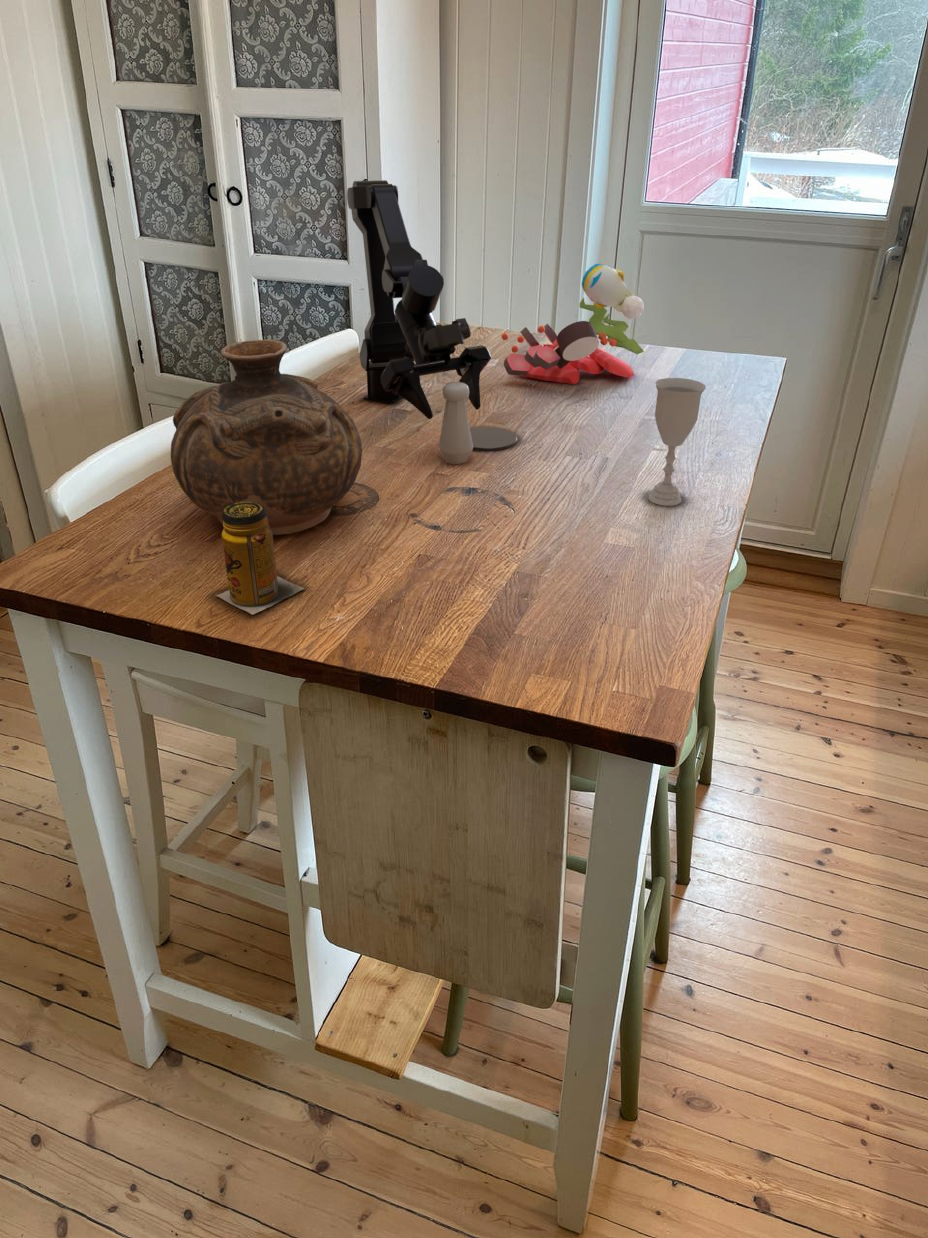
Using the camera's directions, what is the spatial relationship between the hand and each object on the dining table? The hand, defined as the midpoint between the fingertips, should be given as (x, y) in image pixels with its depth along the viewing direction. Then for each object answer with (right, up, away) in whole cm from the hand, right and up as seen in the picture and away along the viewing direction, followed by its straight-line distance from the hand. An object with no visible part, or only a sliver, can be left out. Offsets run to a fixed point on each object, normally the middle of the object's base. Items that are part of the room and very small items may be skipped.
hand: (455, 413), depth 154 cm
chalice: (+33, -15, -9) cm, 37 cm away
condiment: (-24, -31, -35) cm, 53 cm away
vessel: (-27, -18, -15) cm, 36 cm away
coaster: (+5, -2, +12) cm, 14 cm away
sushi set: (+25, +18, +45) cm, 55 cm away
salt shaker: (0, -7, +4) cm, 8 cm away
